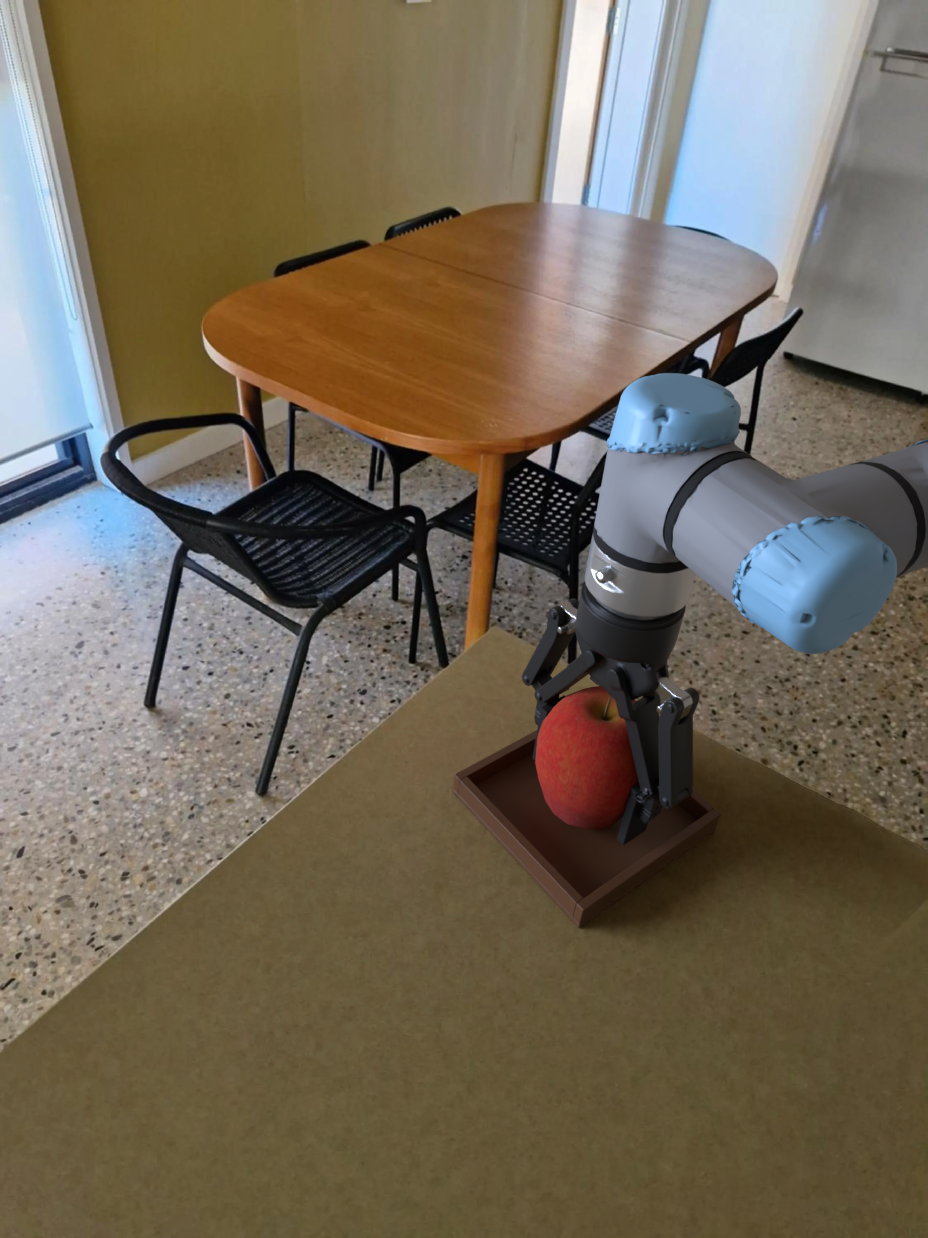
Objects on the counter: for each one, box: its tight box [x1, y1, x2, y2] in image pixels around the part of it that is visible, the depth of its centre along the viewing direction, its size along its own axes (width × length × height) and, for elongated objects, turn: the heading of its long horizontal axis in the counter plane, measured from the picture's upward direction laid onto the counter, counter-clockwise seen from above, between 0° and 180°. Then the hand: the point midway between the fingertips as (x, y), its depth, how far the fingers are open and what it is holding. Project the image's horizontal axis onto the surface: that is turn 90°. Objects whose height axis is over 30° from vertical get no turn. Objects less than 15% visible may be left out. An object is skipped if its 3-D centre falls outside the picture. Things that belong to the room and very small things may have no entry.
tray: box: [452, 729, 722, 929], centre depth 78 cm, size 17×17×2 cm
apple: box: [535, 685, 639, 829], centre depth 74 cm, size 10×10×14 cm
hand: (586, 793), depth 78 cm, fingers closed on apple, 10 cm apart
